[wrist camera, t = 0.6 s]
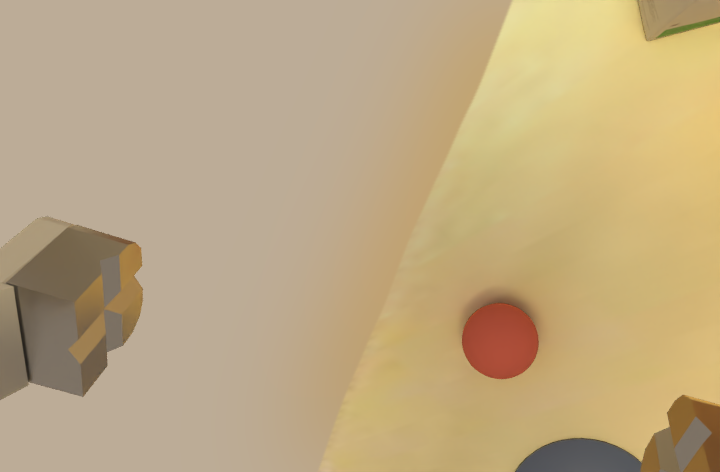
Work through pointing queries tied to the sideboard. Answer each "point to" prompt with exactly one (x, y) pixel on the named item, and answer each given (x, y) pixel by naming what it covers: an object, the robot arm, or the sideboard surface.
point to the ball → (500, 341)
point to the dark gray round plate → (580, 458)
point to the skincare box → (677, 16)
